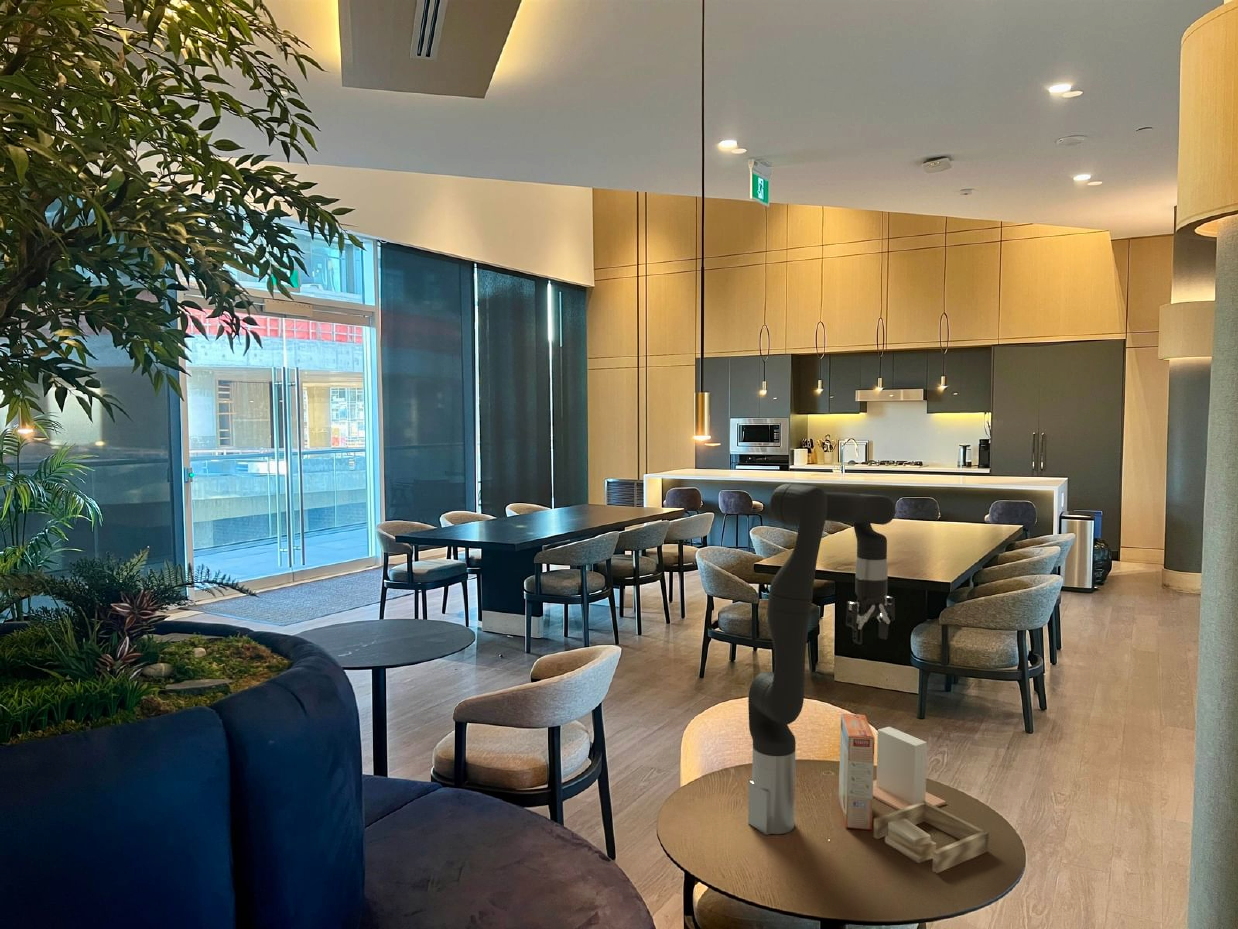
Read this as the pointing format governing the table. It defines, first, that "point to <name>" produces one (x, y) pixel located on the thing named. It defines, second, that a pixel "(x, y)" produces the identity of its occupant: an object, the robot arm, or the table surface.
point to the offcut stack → (910, 840)
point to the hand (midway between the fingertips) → (870, 640)
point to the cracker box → (856, 771)
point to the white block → (901, 765)
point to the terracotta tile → (900, 803)
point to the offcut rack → (950, 855)
